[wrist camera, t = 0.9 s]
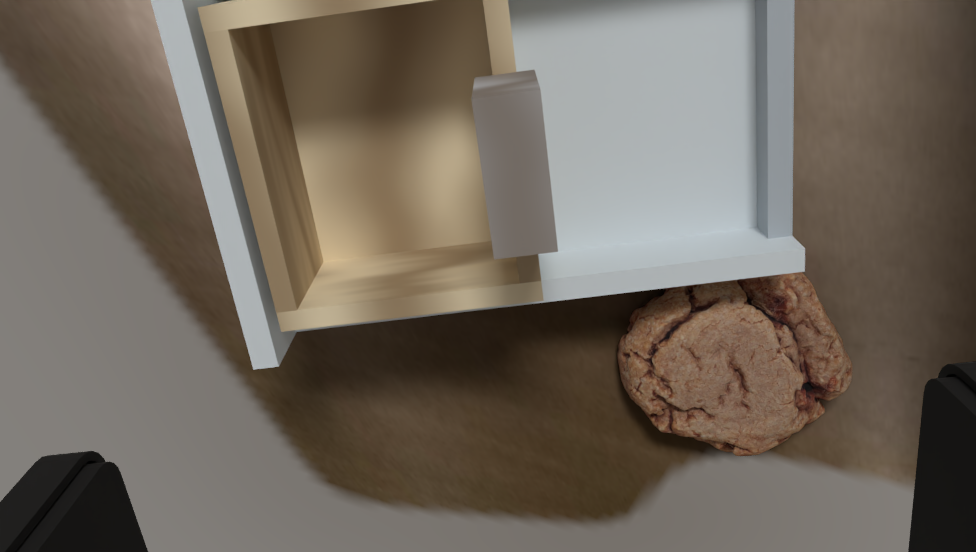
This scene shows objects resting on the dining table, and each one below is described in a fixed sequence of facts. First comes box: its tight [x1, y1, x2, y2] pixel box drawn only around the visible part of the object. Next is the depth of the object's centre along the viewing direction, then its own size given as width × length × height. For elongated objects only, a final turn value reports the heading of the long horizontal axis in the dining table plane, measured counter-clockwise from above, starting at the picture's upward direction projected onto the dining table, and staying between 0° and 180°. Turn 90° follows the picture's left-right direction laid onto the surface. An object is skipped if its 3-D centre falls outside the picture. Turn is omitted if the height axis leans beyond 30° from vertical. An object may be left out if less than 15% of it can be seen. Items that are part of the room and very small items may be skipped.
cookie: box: [617, 272, 852, 456], centre depth 37 cm, size 10×11×3 cm
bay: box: [151, 0, 805, 370], centre depth 31 cm, size 22×15×7 cm, turn 98°
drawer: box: [197, 0, 558, 332], centre depth 29 cm, size 11×12×10 cm
